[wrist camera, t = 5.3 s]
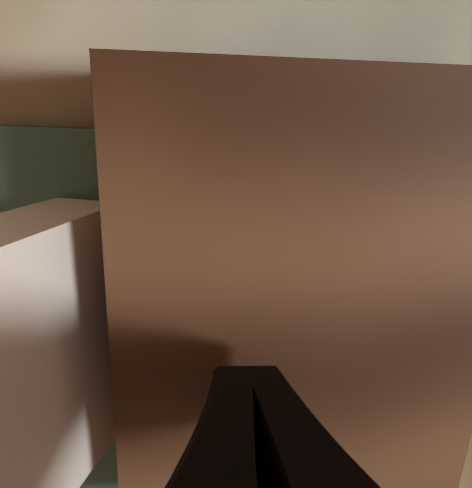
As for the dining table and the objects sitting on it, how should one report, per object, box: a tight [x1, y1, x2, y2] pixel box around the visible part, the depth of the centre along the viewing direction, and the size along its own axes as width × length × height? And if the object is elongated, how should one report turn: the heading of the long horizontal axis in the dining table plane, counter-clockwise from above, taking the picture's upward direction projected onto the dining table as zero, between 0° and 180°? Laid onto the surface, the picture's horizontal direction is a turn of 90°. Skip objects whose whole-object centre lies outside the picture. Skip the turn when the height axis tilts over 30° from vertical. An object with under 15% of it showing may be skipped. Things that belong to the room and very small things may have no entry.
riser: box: [89, 48, 472, 488], centre depth 12 cm, size 14×9×4 cm, turn 178°
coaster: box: [0, 198, 115, 488], centre depth 10 cm, size 7×6×2 cm
